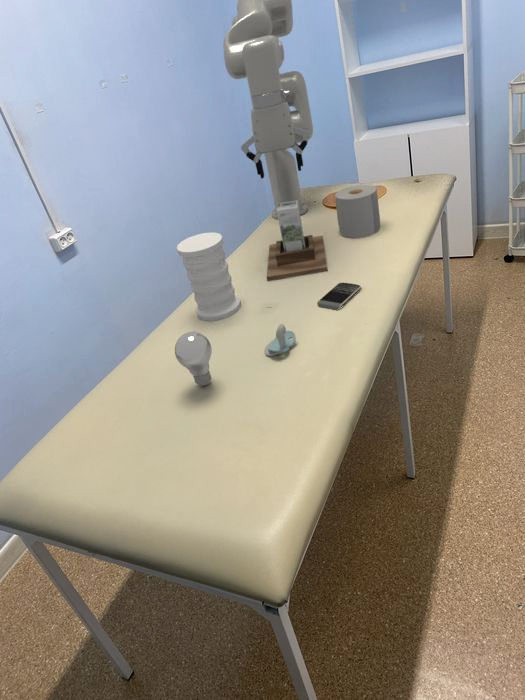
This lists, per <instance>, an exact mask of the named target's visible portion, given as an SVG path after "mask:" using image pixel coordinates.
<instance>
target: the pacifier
mask: <svg viewBox="0 0 525 700" xmlns="http://www.w3.org/2000/svg"><path fill="white" fill-rule="evenodd" d="M290 339H291V340H290ZM296 340H297V339H296V334H295V332H293V331H292V330H287V329H286V326H285V324H284V323H280V324H279V325H278V326H277V328H276V331H275V337H274V338H273V340H271V341H269V343H268V344H266V345H265V348H264V354H265V355H266V356H268V357H272V356H276V355H282V354H285V353H286V352H289V350H290V347H292V346H293V345H294V344H295V342H296Z"/></svg>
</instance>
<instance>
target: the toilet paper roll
mask: <svg viewBox="0 0 525 700" xmlns="http://www.w3.org/2000/svg"><path fill="white" fill-rule="evenodd" d="M377 190H378V189H377V186H374V185H371V184H357V185H352V186H347V187H345V188H342V189H340V190H338V191H337V192H336V193H335V194H334V195H335V196H334V197H335V208H336V209H335V210H336V216H337V224H338V230H339V235H340V236H342V237H343V238H347V239H362V238H365V237H369V236H372V235H374V234H376V233H377V232H379V230H380V228H381V215H380V208H379V205H380V204H379V199H378V197H379V196H378V191H377Z"/></svg>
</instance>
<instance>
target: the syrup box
mask: <svg viewBox="0 0 525 700" xmlns="http://www.w3.org/2000/svg"><path fill="white" fill-rule="evenodd" d="M277 215H278V219H277V221H278V225H279V230H280V234H281V239H282V241H283V246H284V251H285V253H286V252H291V251H297V250H303V249H306V246H305V241H304V236H305V235H304V230H303V224H302V218H301V216H302V215H300V210H299V204H298V200H296V201H291V202H286V203H280V204H277Z"/></svg>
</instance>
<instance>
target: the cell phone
mask: <svg viewBox="0 0 525 700" xmlns="http://www.w3.org/2000/svg"><path fill="white" fill-rule="evenodd" d="M361 289H362V286H361V284H356V283H350V282H339V283H337V284H336V285H334V287H332V289H331V290H329V291H328V292H327V293H326V294H324V296H323V297H321V298H320V299H319V300H318V301H317V303H316V304H317V307H318V308H321V309H325V310H330V309H331V311H335V310H336V311H339V310H341V309H342V308H343V307H344V306H345V305H346V304H347V303H348V302H350V301H351V299H352V298H354V297H355V296H356V295H357V294H358V293H359V292H360V291H361ZM358 291H359V292H358ZM357 292H358V293H357ZM356 293H357V294H356ZM355 294H356V295H355ZM354 295H355V296H354ZM353 296H354V297H353ZM343 305H344V306H343ZM342 306H343V307H342ZM341 307H342V308H341ZM340 308H341V309H340ZM338 309H339V310H338Z"/></svg>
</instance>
